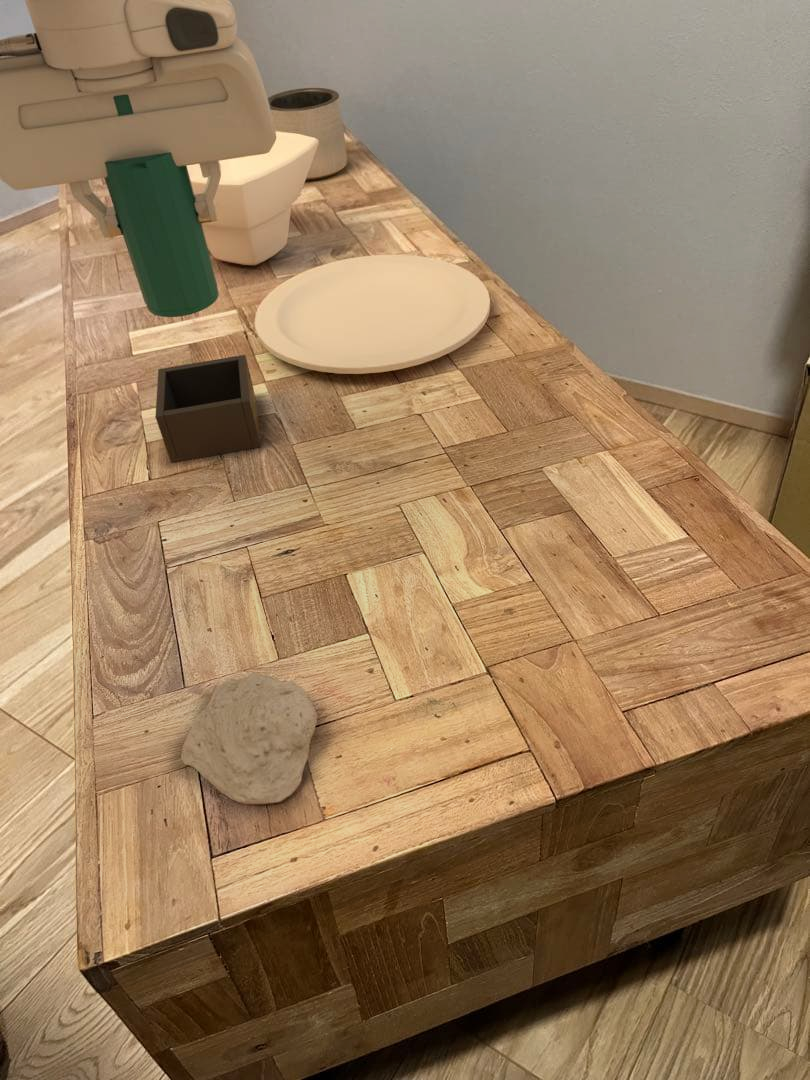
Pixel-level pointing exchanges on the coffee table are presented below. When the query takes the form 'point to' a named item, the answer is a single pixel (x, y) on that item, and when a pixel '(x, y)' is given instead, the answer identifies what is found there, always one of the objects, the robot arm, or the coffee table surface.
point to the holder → (207, 408)
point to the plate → (372, 314)
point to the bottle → (161, 230)
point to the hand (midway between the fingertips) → (162, 227)
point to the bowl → (256, 199)
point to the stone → (253, 739)
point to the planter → (313, 125)
